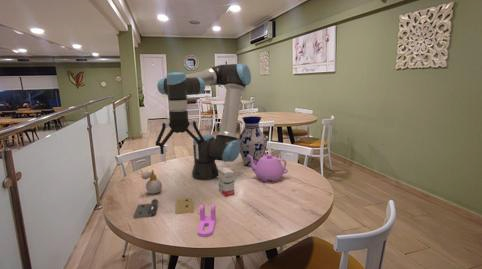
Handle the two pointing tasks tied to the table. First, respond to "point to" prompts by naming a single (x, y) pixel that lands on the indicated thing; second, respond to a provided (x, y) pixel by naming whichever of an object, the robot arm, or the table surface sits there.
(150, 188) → the perfume bottle
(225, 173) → the ink box
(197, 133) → the robot arm
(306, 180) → the table surface
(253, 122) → the vase
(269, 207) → the table surface
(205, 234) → the bracket
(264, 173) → the teapot
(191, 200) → the plate
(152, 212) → the steel leaf
